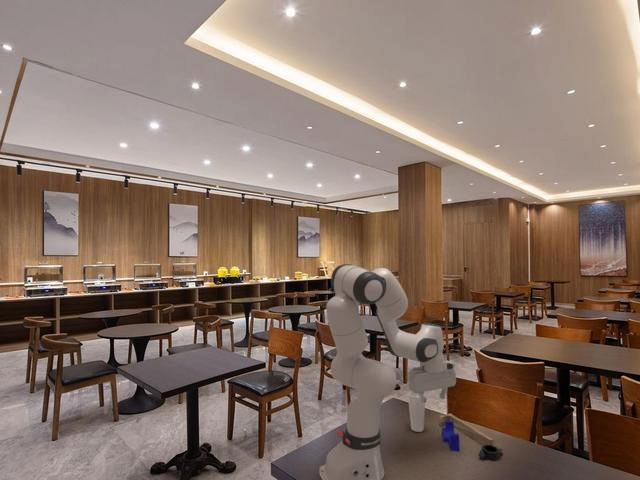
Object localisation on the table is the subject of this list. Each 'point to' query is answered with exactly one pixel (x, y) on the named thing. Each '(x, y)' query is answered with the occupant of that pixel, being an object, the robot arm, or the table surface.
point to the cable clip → (450, 435)
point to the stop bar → (467, 429)
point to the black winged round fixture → (489, 452)
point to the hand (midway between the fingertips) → (433, 400)
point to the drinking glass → (416, 412)
